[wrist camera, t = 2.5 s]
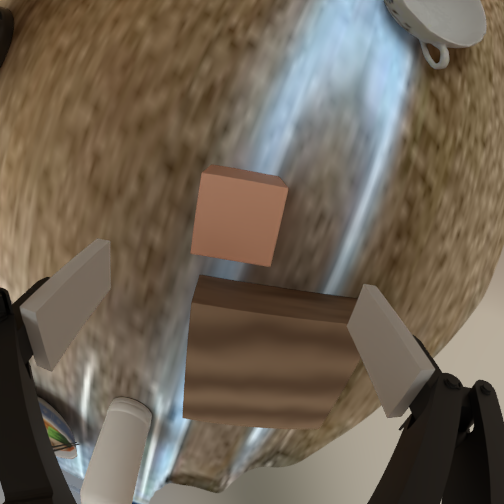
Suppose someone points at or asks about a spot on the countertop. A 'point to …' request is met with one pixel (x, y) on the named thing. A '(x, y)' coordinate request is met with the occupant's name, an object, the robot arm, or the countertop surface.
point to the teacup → (440, 24)
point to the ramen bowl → (58, 431)
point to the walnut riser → (266, 355)
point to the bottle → (117, 454)
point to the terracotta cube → (238, 215)
